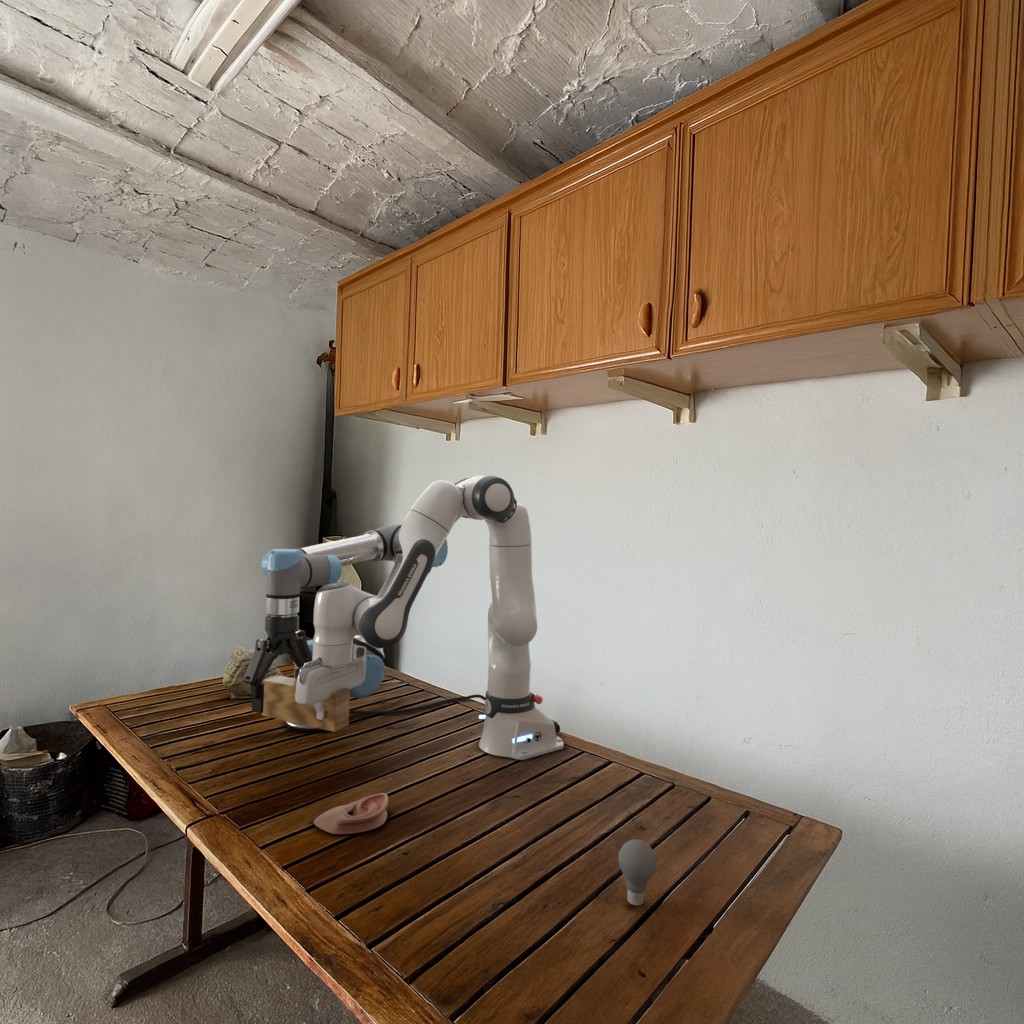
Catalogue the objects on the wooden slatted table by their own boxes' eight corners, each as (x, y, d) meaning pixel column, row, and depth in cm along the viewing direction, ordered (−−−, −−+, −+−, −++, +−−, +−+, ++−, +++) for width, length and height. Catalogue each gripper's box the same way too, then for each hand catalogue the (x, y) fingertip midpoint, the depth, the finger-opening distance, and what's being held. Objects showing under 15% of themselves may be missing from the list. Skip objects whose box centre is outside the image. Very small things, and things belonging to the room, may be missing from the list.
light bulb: (612, 891, 105) (615, 832, 105) (647, 891, 106) (650, 832, 105) (621, 915, 99) (624, 852, 99) (659, 914, 100) (662, 852, 99)
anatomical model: (306, 809, 120) (334, 783, 131) (305, 829, 120) (334, 802, 131) (371, 819, 117) (395, 791, 129) (370, 840, 117) (394, 811, 129)
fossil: (218, 695, 195) (220, 647, 195) (278, 685, 208) (279, 640, 207) (228, 703, 189) (230, 653, 188) (289, 692, 201) (290, 645, 201)
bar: (261, 715, 149) (262, 680, 149) (276, 709, 154) (277, 675, 154) (334, 732, 141) (335, 694, 141) (348, 725, 145) (349, 688, 145)
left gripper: (253, 625, 137) (250, 722, 137) (329, 608, 160) (327, 692, 160) (227, 621, 140) (225, 716, 140) (306, 605, 163) (303, 687, 163)
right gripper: (312, 666, 133) (310, 731, 133) (370, 646, 152) (369, 703, 152) (288, 662, 136) (287, 726, 136) (349, 643, 154) (348, 699, 155)
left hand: (279, 703), depth 150 cm, fingers open, 13 cm apart
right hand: (331, 714), depth 144 cm, fingers closed on bar, 5 cm apart
